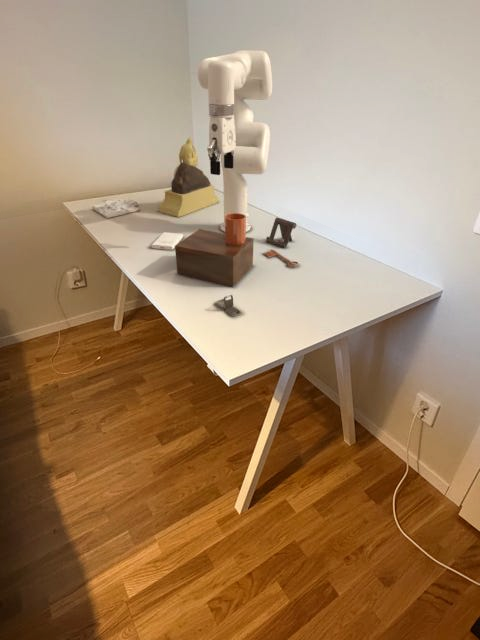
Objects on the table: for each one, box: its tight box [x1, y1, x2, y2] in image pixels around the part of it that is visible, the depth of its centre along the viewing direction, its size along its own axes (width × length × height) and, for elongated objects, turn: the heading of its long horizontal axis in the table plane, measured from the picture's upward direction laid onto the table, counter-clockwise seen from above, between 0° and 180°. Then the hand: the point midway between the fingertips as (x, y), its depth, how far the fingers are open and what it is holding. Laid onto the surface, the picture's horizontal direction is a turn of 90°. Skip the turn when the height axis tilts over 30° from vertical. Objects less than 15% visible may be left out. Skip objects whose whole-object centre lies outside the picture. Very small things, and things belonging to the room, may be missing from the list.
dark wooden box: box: [174, 228, 255, 288], centre depth 125 cm, size 16×20×10 cm
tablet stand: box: [265, 217, 297, 249], centre depth 146 cm, size 9×8×8 cm
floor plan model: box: [92, 197, 140, 219], centre depth 181 cm, size 19×25×2 cm
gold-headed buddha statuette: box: [157, 137, 219, 218], centre depth 175 cm, size 28×13×30 cm, turn 144°
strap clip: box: [215, 294, 241, 317], centre depth 107 cm, size 8×3×4 cm, turn 37°
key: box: [263, 249, 299, 268], centre depth 135 cm, size 6×1×15 cm
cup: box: [224, 213, 247, 245], centre depth 121 cm, size 6×6×8 cm
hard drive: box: [151, 231, 184, 251], centre depth 146 cm, size 2×8×12 cm
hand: (222, 171), depth 124 cm, fingers open, 9 cm apart
